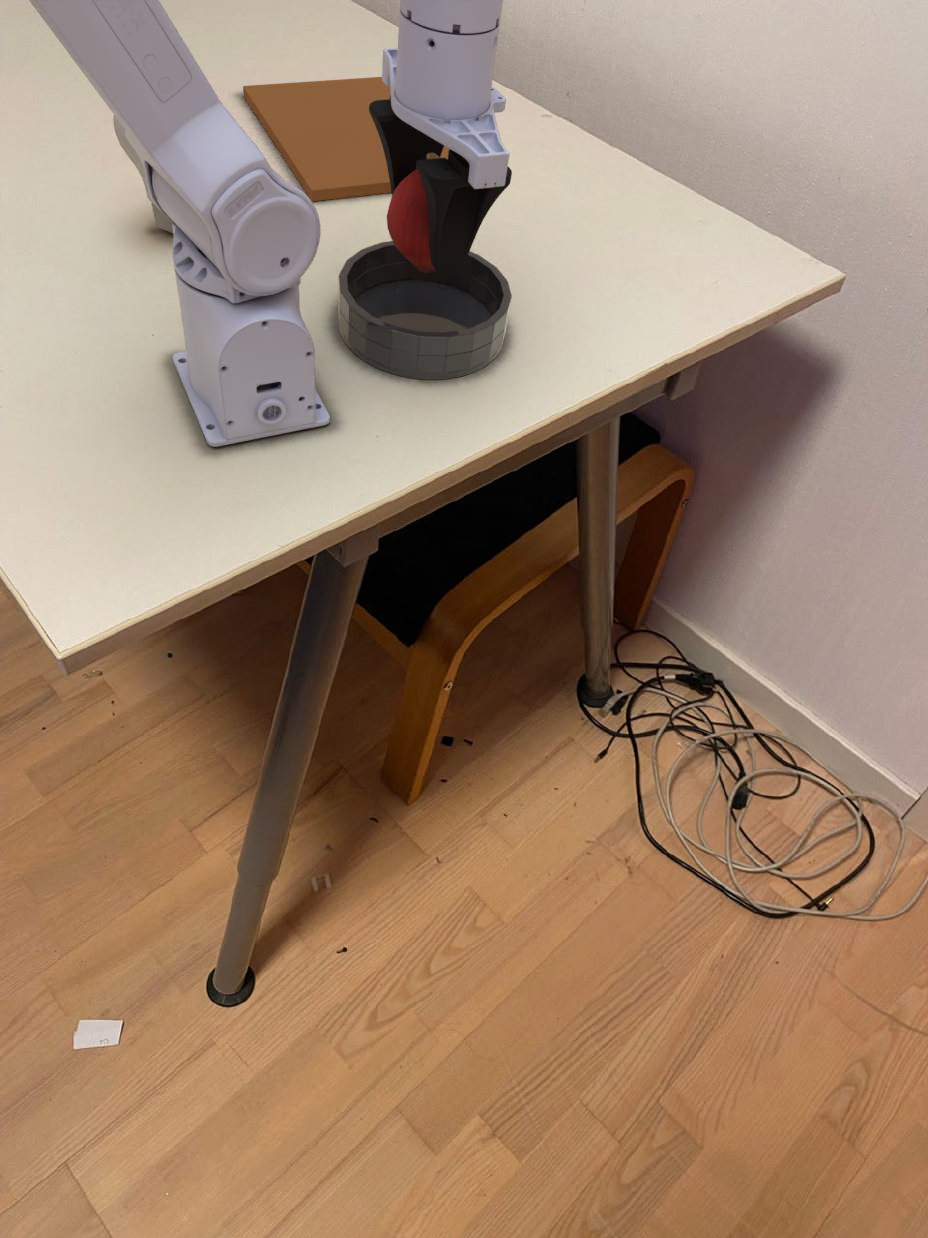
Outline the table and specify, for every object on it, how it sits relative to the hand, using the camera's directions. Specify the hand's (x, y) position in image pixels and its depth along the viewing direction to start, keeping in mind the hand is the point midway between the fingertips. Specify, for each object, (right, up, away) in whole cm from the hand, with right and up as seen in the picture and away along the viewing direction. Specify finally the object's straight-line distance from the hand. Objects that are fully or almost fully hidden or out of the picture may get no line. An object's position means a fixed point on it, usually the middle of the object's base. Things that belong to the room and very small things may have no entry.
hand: (429, 240), depth 62 cm
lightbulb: (-20, +5, +10) cm, 23 cm away
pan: (-1, -4, +5) cm, 7 cm away
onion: (0, -2, +2) cm, 2 cm away
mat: (-7, +19, +23) cm, 30 cm away
